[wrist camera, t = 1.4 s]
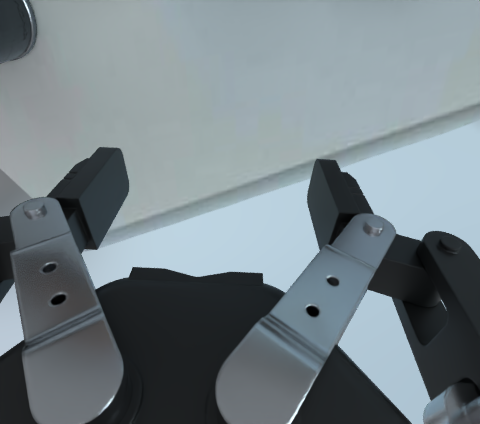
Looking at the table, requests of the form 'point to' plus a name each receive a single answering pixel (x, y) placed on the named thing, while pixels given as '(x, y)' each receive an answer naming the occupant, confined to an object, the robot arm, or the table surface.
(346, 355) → the robot arm
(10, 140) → the table surface
